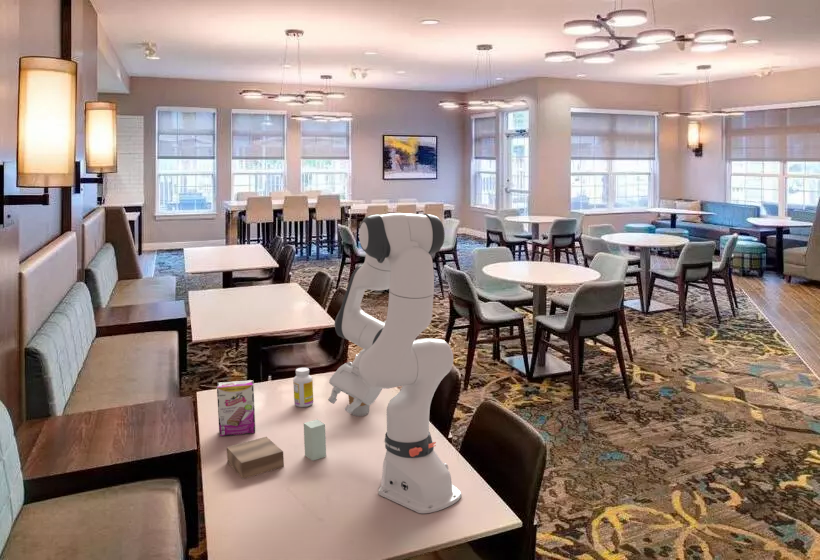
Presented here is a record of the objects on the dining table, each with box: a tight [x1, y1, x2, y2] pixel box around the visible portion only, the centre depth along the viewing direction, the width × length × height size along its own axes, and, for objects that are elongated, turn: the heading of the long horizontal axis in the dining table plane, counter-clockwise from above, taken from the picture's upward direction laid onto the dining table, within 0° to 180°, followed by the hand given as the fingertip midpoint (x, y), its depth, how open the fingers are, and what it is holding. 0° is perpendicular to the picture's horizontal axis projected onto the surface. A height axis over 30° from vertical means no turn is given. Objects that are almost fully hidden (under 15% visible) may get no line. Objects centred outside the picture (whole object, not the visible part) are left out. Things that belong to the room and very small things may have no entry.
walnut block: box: [226, 436, 285, 479], centre depth 180 cm, size 12×12×5 cm
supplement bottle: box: [292, 367, 314, 408], centre depth 224 cm, size 7×7×13 cm
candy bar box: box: [216, 379, 256, 437], centre depth 200 cm, size 11×5×16 cm, turn 104°
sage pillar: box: [303, 418, 327, 462], centre depth 184 cm, size 4×4×10 cm
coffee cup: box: [347, 394, 370, 417], centre depth 216 cm, size 8×8×15 cm
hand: (338, 406), depth 188 cm, fingers open, 8 cm apart
